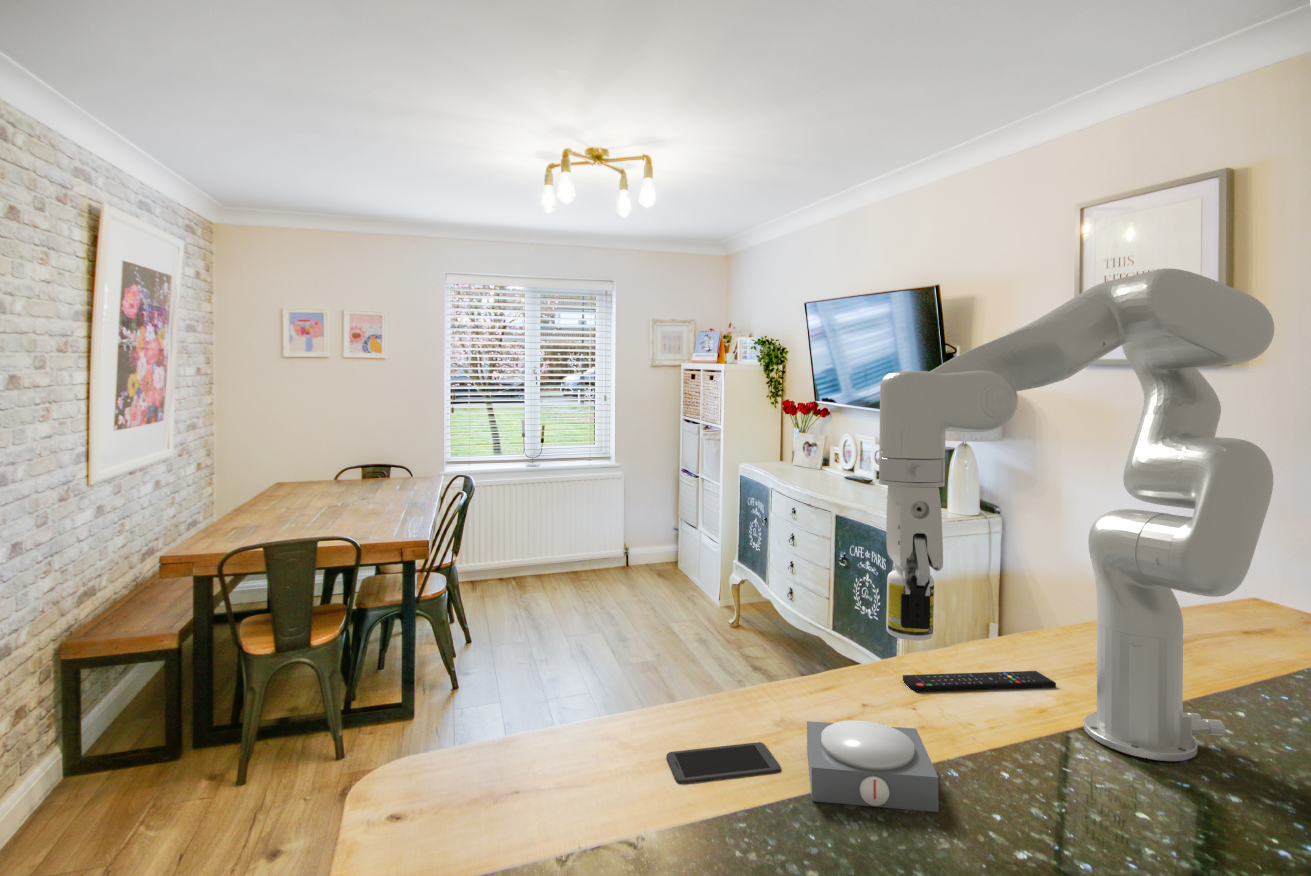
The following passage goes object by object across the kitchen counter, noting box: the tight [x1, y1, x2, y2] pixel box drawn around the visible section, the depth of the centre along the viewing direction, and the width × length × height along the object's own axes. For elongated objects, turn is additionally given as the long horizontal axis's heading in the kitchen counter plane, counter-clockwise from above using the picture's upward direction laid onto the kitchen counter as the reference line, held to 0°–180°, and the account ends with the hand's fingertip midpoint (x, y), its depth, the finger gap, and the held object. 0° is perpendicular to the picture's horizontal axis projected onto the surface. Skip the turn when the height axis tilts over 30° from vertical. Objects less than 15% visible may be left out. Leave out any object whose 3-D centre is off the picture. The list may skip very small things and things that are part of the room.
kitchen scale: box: [806, 719, 940, 813], centre depth 81 cm, size 14×13×5 cm
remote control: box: [902, 670, 1057, 693], centre depth 110 cm, size 5×24×1 cm, turn 93°
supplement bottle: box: [885, 558, 935, 642], centre depth 81 cm, size 5×5×10 cm
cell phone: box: [665, 741, 782, 785], centre depth 86 cm, size 7×14×1 cm, turn 101°
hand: (909, 618), depth 81 cm, fingers closed on supplement bottle, 5 cm apart
